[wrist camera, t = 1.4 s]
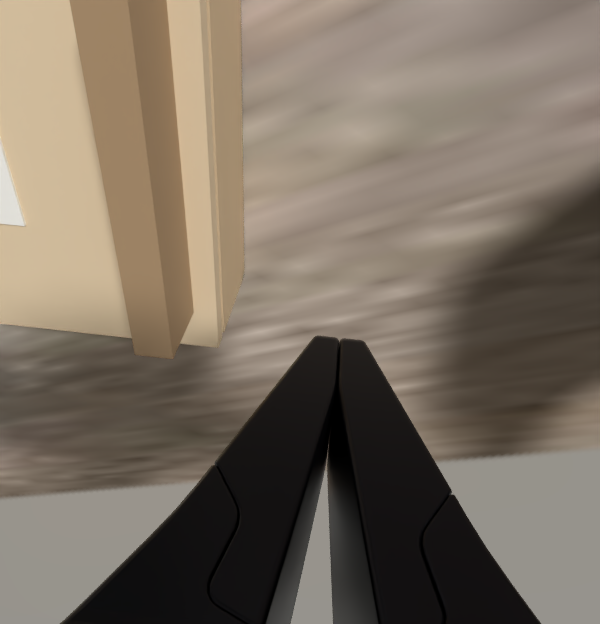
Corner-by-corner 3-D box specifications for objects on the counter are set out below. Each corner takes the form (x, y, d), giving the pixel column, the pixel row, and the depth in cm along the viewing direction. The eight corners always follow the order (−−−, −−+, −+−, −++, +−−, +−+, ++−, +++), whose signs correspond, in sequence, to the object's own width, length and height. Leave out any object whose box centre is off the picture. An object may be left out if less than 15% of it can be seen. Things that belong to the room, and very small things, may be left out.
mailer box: (239, -110, 15) (203, -117, 12) (244, 274, 23) (224, 332, 20) (-225, -139, 16) (-376, -154, 12) (-65, 242, 23) (-132, 293, 20)
